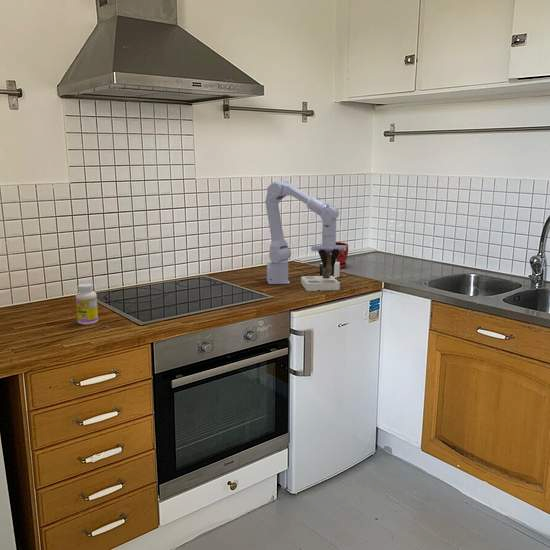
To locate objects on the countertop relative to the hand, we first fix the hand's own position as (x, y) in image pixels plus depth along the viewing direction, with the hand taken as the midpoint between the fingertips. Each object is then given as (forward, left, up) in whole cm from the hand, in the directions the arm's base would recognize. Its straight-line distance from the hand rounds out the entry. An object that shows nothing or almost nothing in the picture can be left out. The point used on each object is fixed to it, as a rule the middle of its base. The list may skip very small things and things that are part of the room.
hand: (328, 267), depth 234 cm
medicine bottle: (+5, +21, -9) cm, 23 cm away
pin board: (-3, +4, -9) cm, 10 cm away
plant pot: (+13, +45, -9) cm, 48 cm away
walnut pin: (0, 0, -2) cm, 2 cm away
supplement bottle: (-91, -39, -9) cm, 99 cm away
